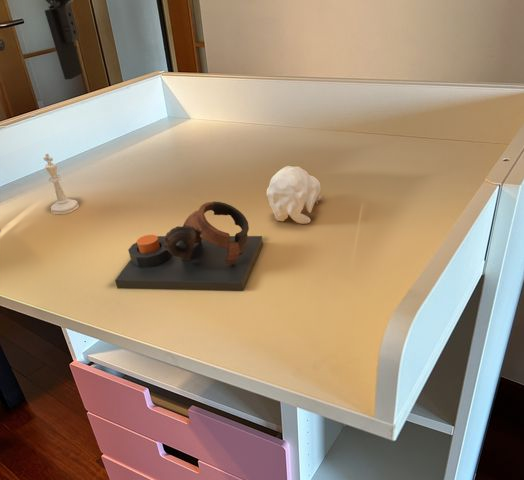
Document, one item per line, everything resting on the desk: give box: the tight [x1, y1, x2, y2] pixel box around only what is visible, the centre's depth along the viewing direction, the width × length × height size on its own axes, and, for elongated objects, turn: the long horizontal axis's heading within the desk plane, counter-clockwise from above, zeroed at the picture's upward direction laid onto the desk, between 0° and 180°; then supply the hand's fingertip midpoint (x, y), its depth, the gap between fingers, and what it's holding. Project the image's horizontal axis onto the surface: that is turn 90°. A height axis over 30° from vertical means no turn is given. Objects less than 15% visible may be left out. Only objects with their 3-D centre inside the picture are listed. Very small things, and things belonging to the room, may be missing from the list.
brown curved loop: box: [164, 201, 250, 264], centre depth 77 cm, size 12×10×8 cm
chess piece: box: [43, 153, 80, 215], centre depth 100 cm, size 5×5×10 cm
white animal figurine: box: [266, 165, 323, 225], centre depth 88 cm, size 6×8×12 cm
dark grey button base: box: [114, 235, 264, 292], centre depth 80 cm, size 18×13×3 cm
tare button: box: [136, 234, 160, 253], centre depth 80 cm, size 3×3×2 cm
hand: (20, 80), depth 64 cm, fingers open, 13 cm apart
